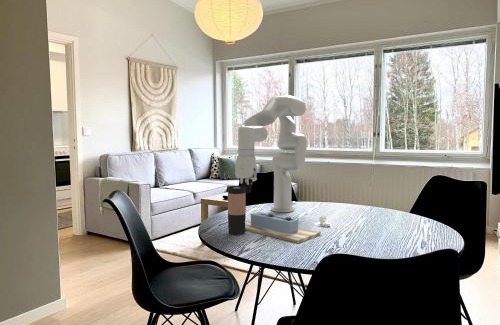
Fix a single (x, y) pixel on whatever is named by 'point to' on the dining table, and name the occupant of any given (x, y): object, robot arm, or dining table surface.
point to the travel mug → (236, 210)
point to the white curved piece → (323, 222)
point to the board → (293, 237)
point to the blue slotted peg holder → (274, 222)
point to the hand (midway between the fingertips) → (246, 192)
